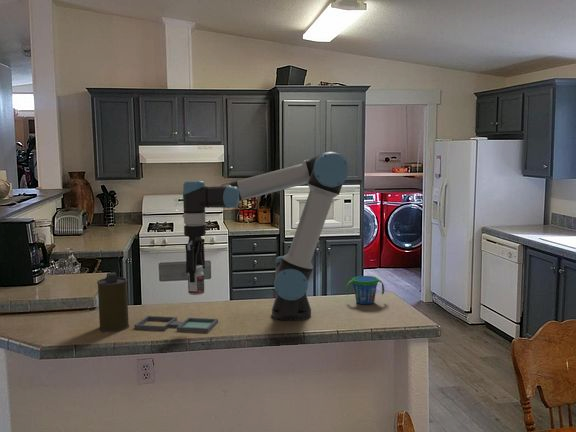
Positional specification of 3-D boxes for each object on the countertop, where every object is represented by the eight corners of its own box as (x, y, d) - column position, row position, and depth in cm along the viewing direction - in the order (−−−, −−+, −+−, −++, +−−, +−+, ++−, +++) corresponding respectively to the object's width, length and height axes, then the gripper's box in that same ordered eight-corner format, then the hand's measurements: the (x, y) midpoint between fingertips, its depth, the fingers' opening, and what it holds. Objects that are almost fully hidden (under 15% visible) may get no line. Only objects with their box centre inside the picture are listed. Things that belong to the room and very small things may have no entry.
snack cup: (346, 305, 233) (346, 281, 232) (345, 299, 244) (345, 275, 243) (385, 306, 232) (385, 281, 231) (383, 299, 242) (383, 275, 241)
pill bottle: (201, 295, 204) (200, 268, 202) (185, 295, 205) (185, 267, 203) (206, 291, 209) (206, 264, 208) (191, 291, 210) (191, 264, 209)
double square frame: (218, 322, 213) (218, 318, 213) (208, 332, 202) (208, 328, 201) (147, 319, 218) (147, 315, 218) (134, 328, 207) (134, 325, 206)
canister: (132, 328, 207) (130, 274, 204) (102, 333, 202) (99, 277, 199) (125, 321, 216) (122, 268, 214) (96, 325, 211) (93, 272, 209)
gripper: (193, 220, 214) (195, 282, 216) (174, 228, 195) (176, 294, 198) (213, 221, 212) (214, 282, 215) (195, 228, 194) (197, 295, 197)
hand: (196, 288), depth 207 cm, fingers closed on pill bottle, 6 cm apart
